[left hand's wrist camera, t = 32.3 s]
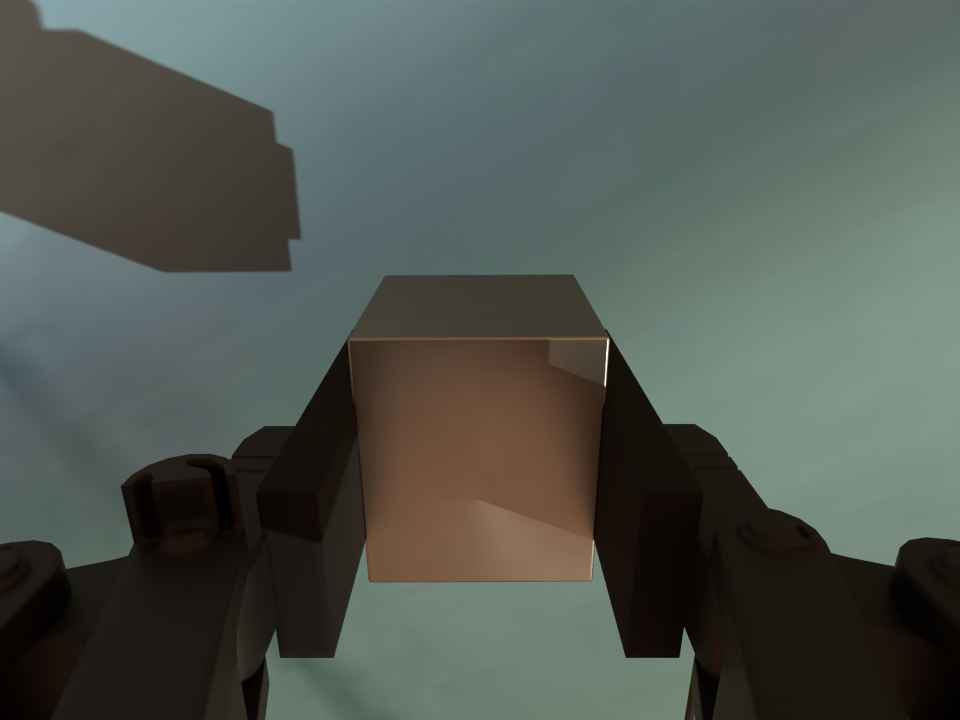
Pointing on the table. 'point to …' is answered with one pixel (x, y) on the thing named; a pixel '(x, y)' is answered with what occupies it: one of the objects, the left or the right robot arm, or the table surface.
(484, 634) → the table surface
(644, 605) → the left robot arm
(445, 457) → the brick
